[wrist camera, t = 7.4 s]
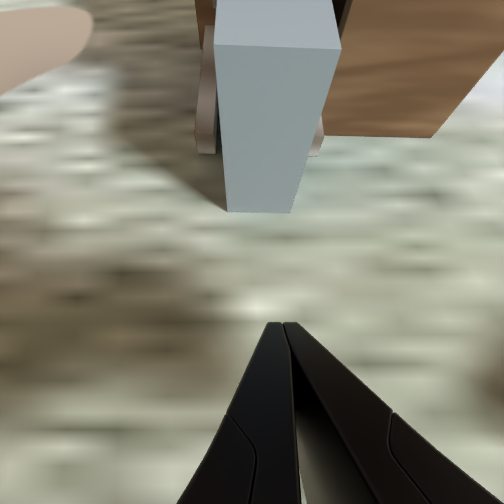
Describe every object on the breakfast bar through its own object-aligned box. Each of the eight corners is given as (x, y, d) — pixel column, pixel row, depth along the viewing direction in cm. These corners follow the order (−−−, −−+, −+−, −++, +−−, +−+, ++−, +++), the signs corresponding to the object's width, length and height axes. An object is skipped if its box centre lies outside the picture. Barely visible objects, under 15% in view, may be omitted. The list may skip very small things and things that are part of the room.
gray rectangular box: (289, 213, 18) (341, 49, 9) (211, 212, 18) (180, 43, 8) (279, 54, 24) (303, -140, 15) (221, 52, 24) (209, -146, 15)
